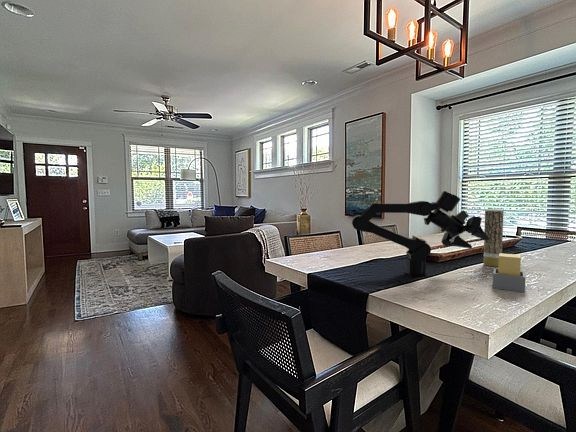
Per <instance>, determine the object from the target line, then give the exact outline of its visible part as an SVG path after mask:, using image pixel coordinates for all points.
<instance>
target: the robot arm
mask: <svg viewBox="0 0 576 432" xmlns="http://www.w3.org/2000/svg"><path fill="white" fill-rule="evenodd" d="M460 201H461V198H460V197H459V196H457V195H456V194H453V193H450V192H448V191H446V190H444V191H442V192H441V194H440V197H438V199H437V200H436V201H435V202H434V201H432V202H429V201H425V200H418V201H417V200H416V201H412V202H407V203H377V202H372V203H370V204H369V206H367V208H366V209H364V210H363V211H361V213H360V214H356V215H355V216H353V217H352V219H351V224H352V227H353V229H355V230H357V231H360V232H363V233H371V234H374V235H376V236H378V237H381V238H383V239H385V240H387V241H390V242H393V243H395V244H398V245H400V246H402V247H405V248H406V249H407V251H406V252H405V254H406V256H407V257H408V258H406V265H405V266H406V268H405V269H406V270H405V271H404V273H405V274H407V275H408V276H410V277H427V276H428V274H427V263H426V259H427V256H429V255H430V254H431V251H432V248H431V246H430V244H428V243H427V241H426V240H425V239H423V238H419V237H417V236H415V235H412V236H411V237H406V236H404V235H402V234H399V233H397V232H394V231H393V230H390V229H388V228H384V227H383V226H379V225H378V224H376V223H374V222H372V221H371V220H372V219H373V217H374V216H375V215H376V214H379V213H382V214H383V213H384V214H385V213H386V214H388V213H389V214H390V213H391V214H399V213H400V214H402V213H405V214H411V215H416V216H422V217H423V222H424V225H426V226H429V225H430V224H431V223H432V224H434V225H435V226H436V227H438V228H439V229H440V232H442V233H443V232H444V234H443V236H442V238H441V244H442V245H443V246H445V247H457V248H458V247H459V248H466V249H472V247H473V245H471V244H470V243H469V242H468V241H466V240H464V238H461V236H460V235H461V234H463V233H465V232H466V233H468V234H471V236H473V237H477V238H480V239H481V240H483V241H484V240H489V237H488V236H487V235H486V233H485V232H484V230H483V228H482V227H481V224H482V217H480V216H478V215H474V216H472V217H470V215H469V214H468V212H466V211H465V210H464V209H463V210H461V211H460V212H458V213H456V214H455V215H453V214H451V215H448V213H449V212H451V213H452V212H453V210H454V209H455V208H456V206H457V205H458V204H459V203H460ZM426 216H427V217H426ZM469 217H470V218H469ZM467 218H468V219H467ZM466 219H467V220H466ZM465 220H466V221H465ZM465 222H466V223H465Z"/></svg>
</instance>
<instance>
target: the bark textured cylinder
mask: <svg viewBox="0 0 576 432" xmlns="http://www.w3.org/2000/svg"><path fill="white" fill-rule="evenodd" d="M483 231H484V232H485V233H486V235H487V236H488V237H489V240H484V239H483V259H482V260H483V265H485V266H488V267H492V268H493V267H494V268H495V267H496V268H498V265H499V253H503V239H504V238H503V236H504V235H503V234H504V233H503V231H504V209H498V208H495V209H493V208H492V209H491V208H488V209H487V208H486V209H485V210H484V230H483Z"/></svg>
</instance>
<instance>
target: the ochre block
mask: <svg viewBox="0 0 576 432" xmlns="http://www.w3.org/2000/svg"><path fill="white" fill-rule="evenodd" d="M521 260H522V259H521V254H516V253H515V254H514V253H503V252H502V253H499V265H498V267H497V269H498V274H505V275H514V276H520V271H521V266H522V265H521Z"/></svg>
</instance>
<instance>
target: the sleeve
mask: <svg viewBox="0 0 576 432" xmlns="http://www.w3.org/2000/svg"><path fill="white" fill-rule="evenodd" d="M525 273H526V272H525V271H522V270H520V276H514V275H505V274H498V268H497V267H496V268H495V267H494V268H493V271H492V289H498V290H499V289H500V290H505V291H512V292H520V293H526V277H527V276H526V274H525Z"/></svg>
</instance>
